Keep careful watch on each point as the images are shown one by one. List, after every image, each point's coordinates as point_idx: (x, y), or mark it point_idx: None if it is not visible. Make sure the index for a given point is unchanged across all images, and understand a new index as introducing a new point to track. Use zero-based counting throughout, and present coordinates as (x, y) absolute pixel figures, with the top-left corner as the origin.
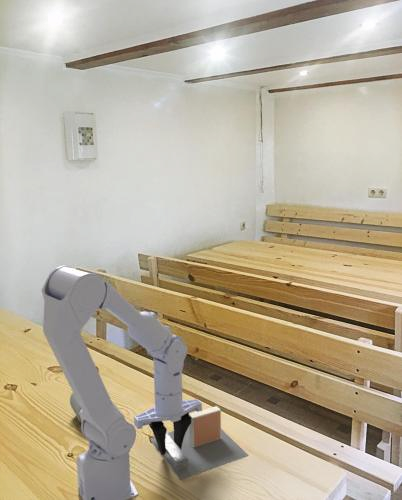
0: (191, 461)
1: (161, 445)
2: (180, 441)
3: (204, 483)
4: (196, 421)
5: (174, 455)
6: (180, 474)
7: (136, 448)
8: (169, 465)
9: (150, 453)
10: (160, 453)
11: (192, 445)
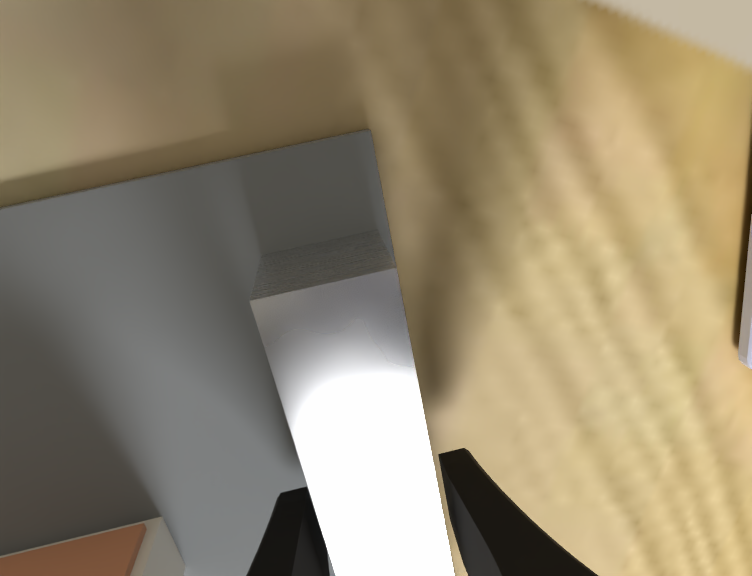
0: (208, 356)
1: (524, 515)
2: (285, 554)
3: (129, 23)
4: None
5: (387, 384)
6: (347, 208)
7: None
8: None
9: None
10: None
11: (162, 536)
